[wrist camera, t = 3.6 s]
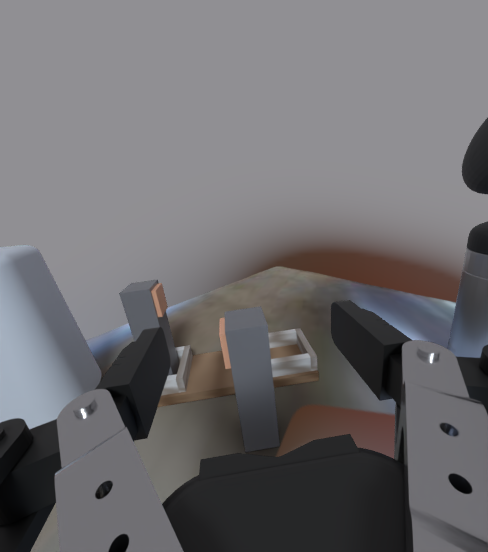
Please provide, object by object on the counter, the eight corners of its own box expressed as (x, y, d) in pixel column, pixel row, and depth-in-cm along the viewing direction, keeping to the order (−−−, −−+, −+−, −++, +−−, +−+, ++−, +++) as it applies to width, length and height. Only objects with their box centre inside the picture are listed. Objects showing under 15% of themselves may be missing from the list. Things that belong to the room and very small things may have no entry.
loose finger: (272, 415, 30) (260, 306, 25) (279, 446, 26) (267, 324, 21) (238, 421, 30) (219, 312, 25) (240, 453, 26) (218, 332, 21)
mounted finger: (183, 365, 40) (161, 279, 35) (179, 382, 36) (153, 288, 31) (156, 369, 39) (130, 283, 34) (149, 387, 36) (119, 293, 31)
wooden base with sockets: (300, 345, 43) (299, 326, 42) (318, 380, 35) (318, 358, 33) (151, 368, 42) (145, 350, 41) (133, 411, 34) (125, 389, 32)
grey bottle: (107, 367, 44) (50, 220, 35) (90, 435, 31) (-7, 224, 22) (8, 399, 39) (-86, 236, 30) (-63, 497, 26) (-269, 256, 17)
